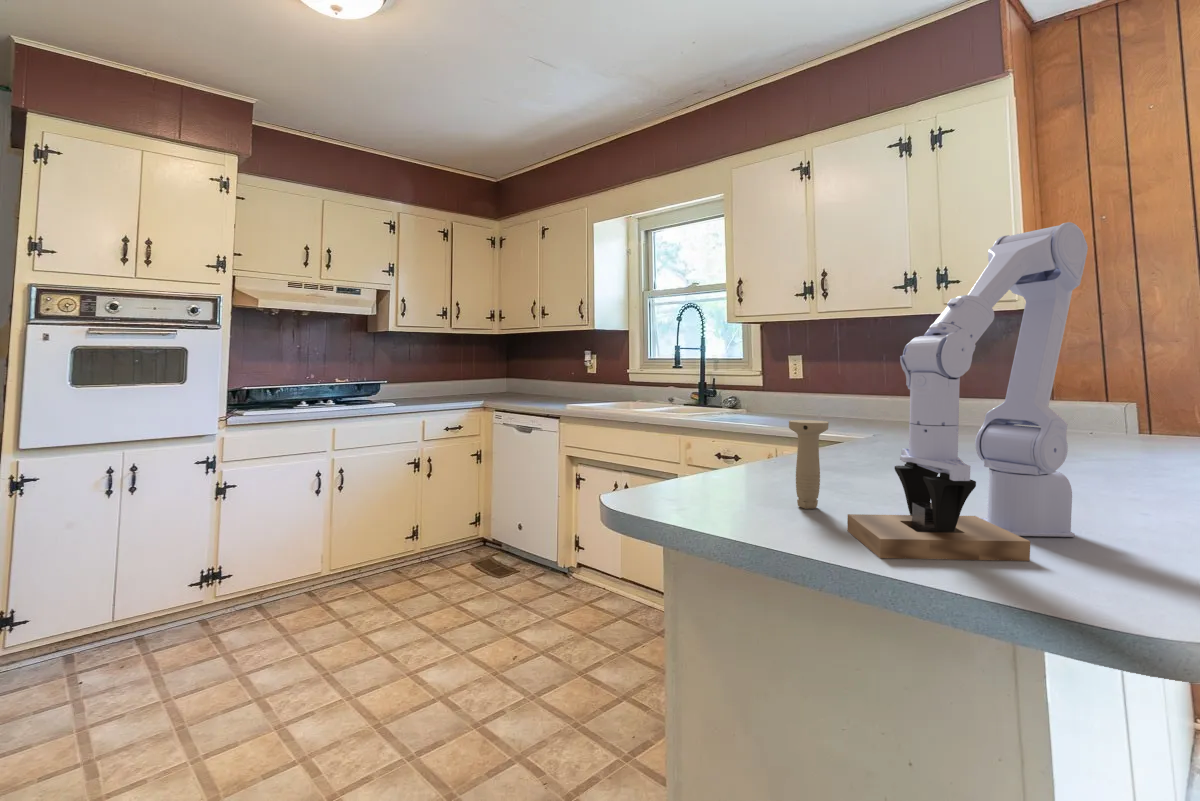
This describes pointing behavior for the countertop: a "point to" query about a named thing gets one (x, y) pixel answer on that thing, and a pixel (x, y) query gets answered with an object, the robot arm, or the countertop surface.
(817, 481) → the handle
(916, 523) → the grey stone block
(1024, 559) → the well board
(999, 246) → the robot arm
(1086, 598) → the countertop surface
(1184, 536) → the countertop surface
